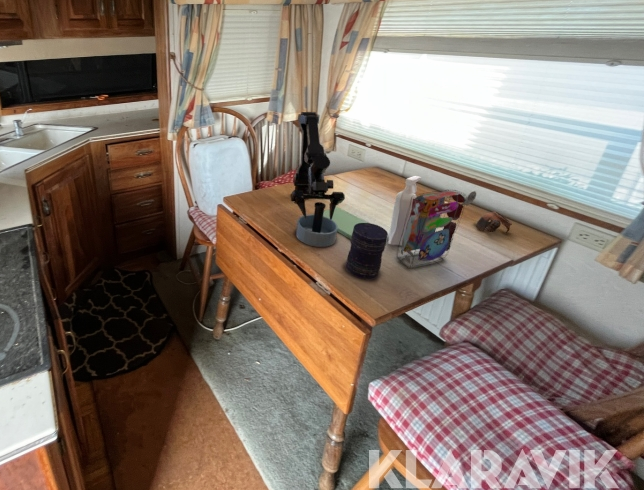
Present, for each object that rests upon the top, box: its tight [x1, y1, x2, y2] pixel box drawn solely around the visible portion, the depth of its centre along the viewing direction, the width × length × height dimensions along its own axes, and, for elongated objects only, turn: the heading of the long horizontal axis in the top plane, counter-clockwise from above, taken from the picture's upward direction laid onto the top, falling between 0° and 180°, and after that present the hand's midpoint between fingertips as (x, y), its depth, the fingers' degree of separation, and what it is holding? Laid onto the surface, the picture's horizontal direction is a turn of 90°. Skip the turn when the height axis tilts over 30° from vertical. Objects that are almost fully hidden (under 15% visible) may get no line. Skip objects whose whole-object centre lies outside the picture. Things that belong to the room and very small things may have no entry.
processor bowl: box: [295, 214, 338, 248], centre depth 134 cm, size 14×14×6 cm
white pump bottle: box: [387, 175, 422, 247], centre depth 126 cm, size 7×12×25 cm, turn 126°
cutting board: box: [323, 206, 370, 240], centre depth 143 cm, size 20×14×2 cm
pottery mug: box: [475, 210, 513, 234], centre depth 136 cm, size 12×10×8 cm
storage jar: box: [345, 222, 389, 281], centre depth 113 cm, size 10×10×18 cm
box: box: [395, 189, 477, 269], centre depth 117 cm, size 25×6×24 cm, turn 108°
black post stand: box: [305, 201, 327, 233], centre depth 132 cm, size 9×8×13 cm
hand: (318, 218), depth 132 cm, fingers open, 9 cm apart
